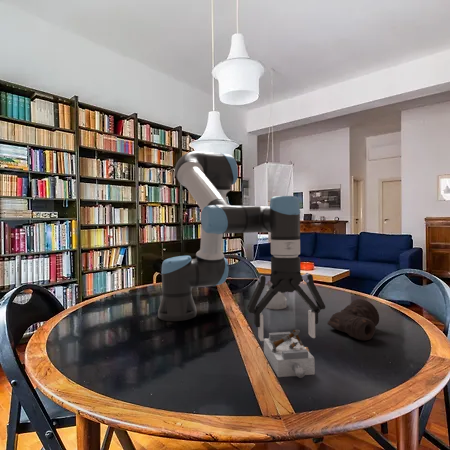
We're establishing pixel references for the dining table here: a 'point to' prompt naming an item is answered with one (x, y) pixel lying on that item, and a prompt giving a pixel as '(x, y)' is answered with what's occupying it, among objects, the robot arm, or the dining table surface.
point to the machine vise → (288, 357)
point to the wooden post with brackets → (286, 338)
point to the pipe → (356, 320)
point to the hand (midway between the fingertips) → (286, 337)
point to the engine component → (277, 301)
